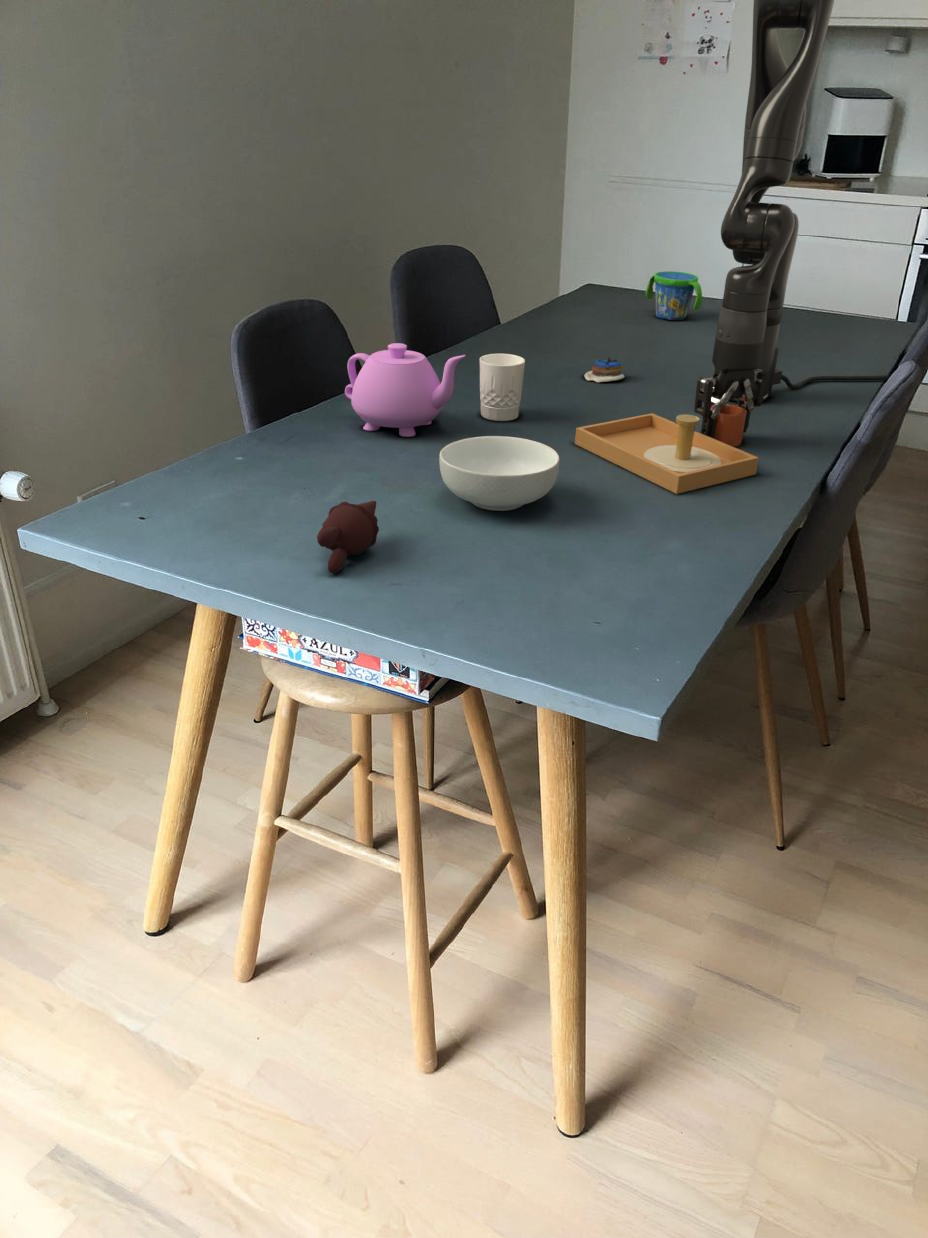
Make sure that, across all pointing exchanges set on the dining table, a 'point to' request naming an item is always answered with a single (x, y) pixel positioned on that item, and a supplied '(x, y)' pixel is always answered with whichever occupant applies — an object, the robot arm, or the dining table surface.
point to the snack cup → (674, 294)
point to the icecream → (348, 531)
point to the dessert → (605, 371)
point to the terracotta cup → (730, 425)
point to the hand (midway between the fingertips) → (723, 434)
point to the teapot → (398, 389)
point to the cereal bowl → (499, 471)
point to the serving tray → (644, 432)
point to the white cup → (501, 386)
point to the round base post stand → (683, 450)
